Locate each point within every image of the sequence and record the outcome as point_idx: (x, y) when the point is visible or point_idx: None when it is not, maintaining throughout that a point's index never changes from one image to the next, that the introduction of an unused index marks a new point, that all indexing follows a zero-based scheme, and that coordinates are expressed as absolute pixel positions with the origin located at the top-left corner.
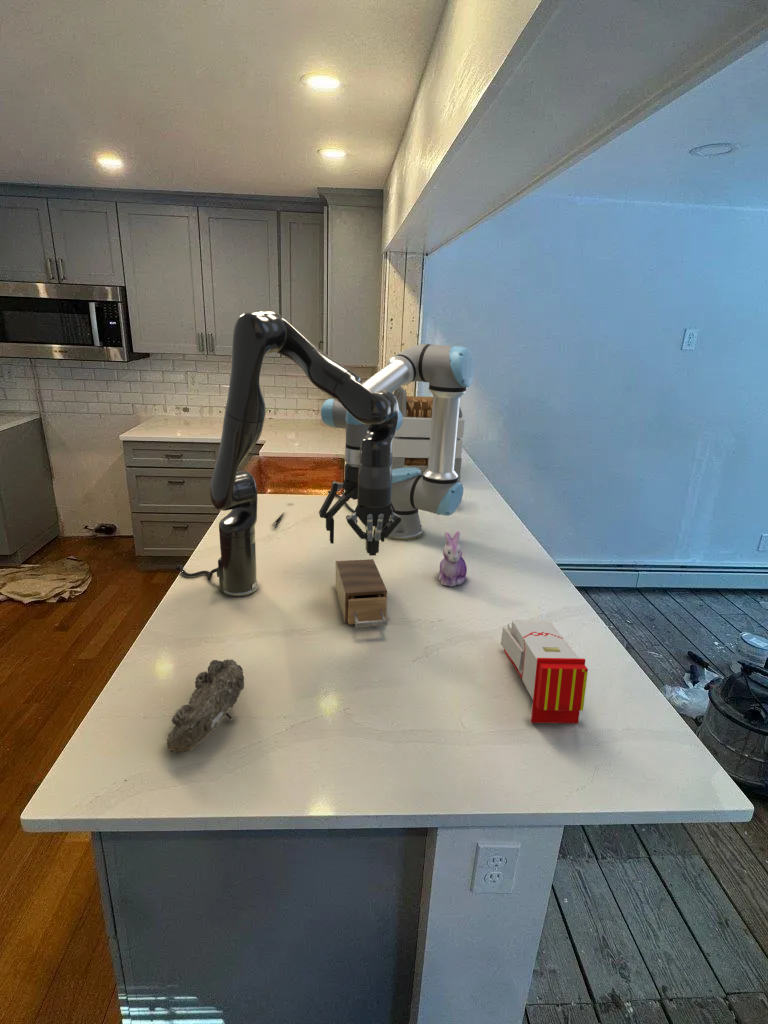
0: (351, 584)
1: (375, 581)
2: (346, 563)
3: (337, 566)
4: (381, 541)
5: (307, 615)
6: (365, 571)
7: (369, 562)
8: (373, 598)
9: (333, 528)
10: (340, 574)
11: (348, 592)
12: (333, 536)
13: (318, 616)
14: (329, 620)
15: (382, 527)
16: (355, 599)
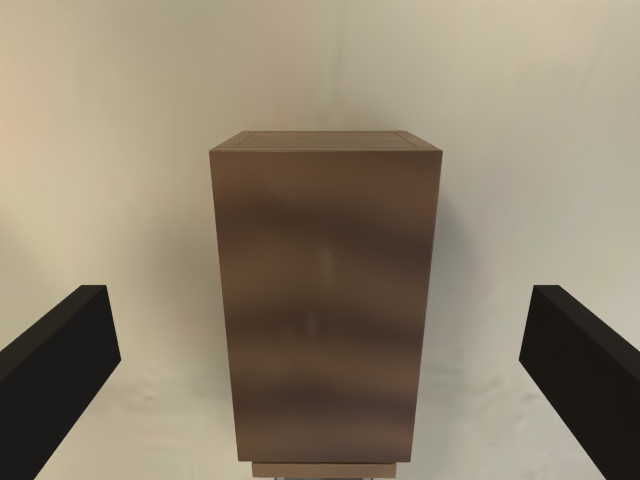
0: (270, 404)
1: (382, 393)
2: (270, 193)
3: (216, 225)
4: (519, 359)
5: (138, 319)
6: (359, 297)
7: (408, 194)
8: (346, 471)
9: (30, 477)
10: (227, 314)
11: (251, 458)
12: (85, 404)
13: (175, 328)
14: (211, 354)
15: (602, 470)
16: (277, 468)
